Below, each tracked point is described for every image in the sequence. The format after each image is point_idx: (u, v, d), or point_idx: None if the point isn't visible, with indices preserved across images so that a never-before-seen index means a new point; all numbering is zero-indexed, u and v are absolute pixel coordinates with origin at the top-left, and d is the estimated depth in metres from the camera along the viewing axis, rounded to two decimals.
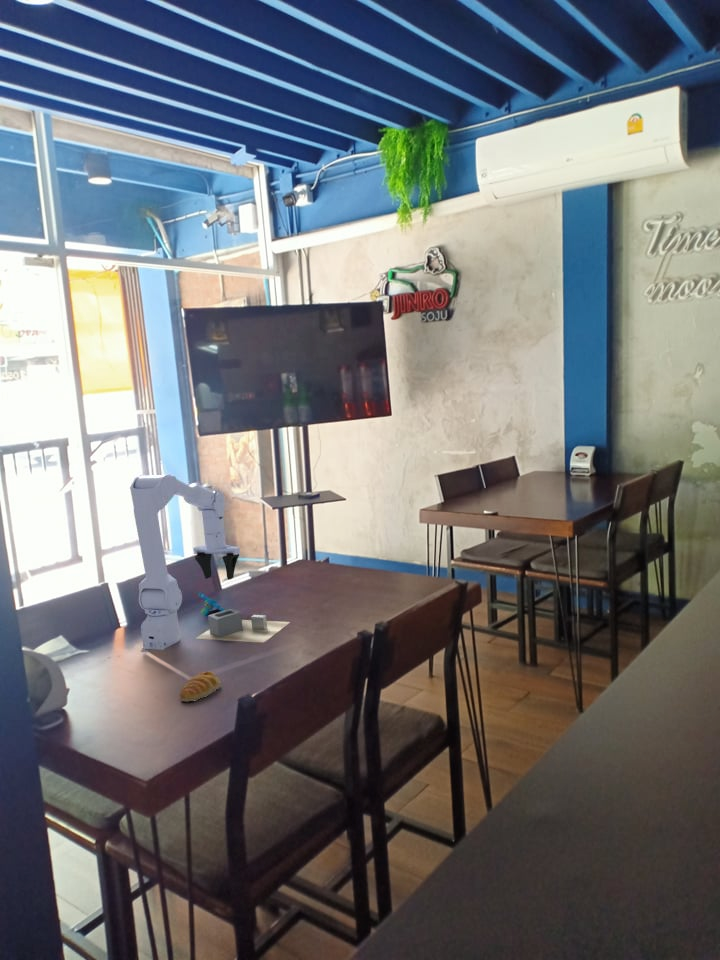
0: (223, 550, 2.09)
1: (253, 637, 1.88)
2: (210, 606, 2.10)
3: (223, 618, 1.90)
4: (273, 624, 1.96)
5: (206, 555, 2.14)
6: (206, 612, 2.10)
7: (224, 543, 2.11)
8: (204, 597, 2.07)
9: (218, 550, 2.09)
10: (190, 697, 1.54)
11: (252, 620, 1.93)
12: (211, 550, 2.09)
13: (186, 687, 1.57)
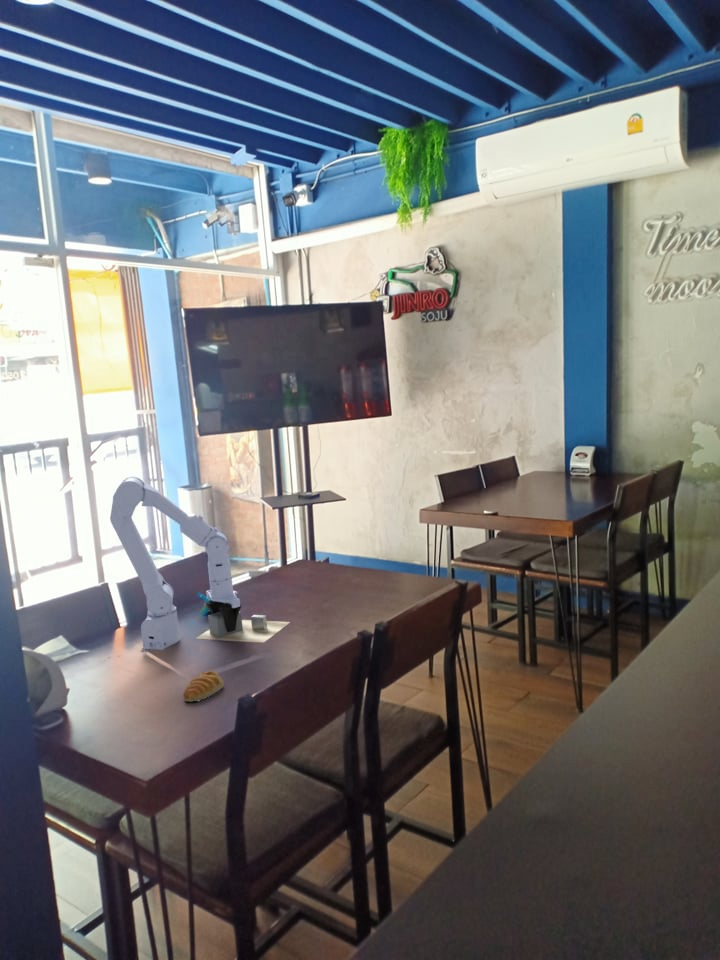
0: (222, 601, 1.88)
1: (253, 637, 1.88)
2: None
3: (223, 618, 1.90)
4: (273, 624, 1.96)
5: (218, 602, 1.95)
6: (205, 612, 2.10)
7: (228, 592, 1.90)
8: (203, 597, 2.07)
9: (218, 600, 1.89)
10: (194, 697, 1.54)
11: (252, 620, 1.93)
12: (213, 598, 1.90)
13: (189, 687, 1.56)
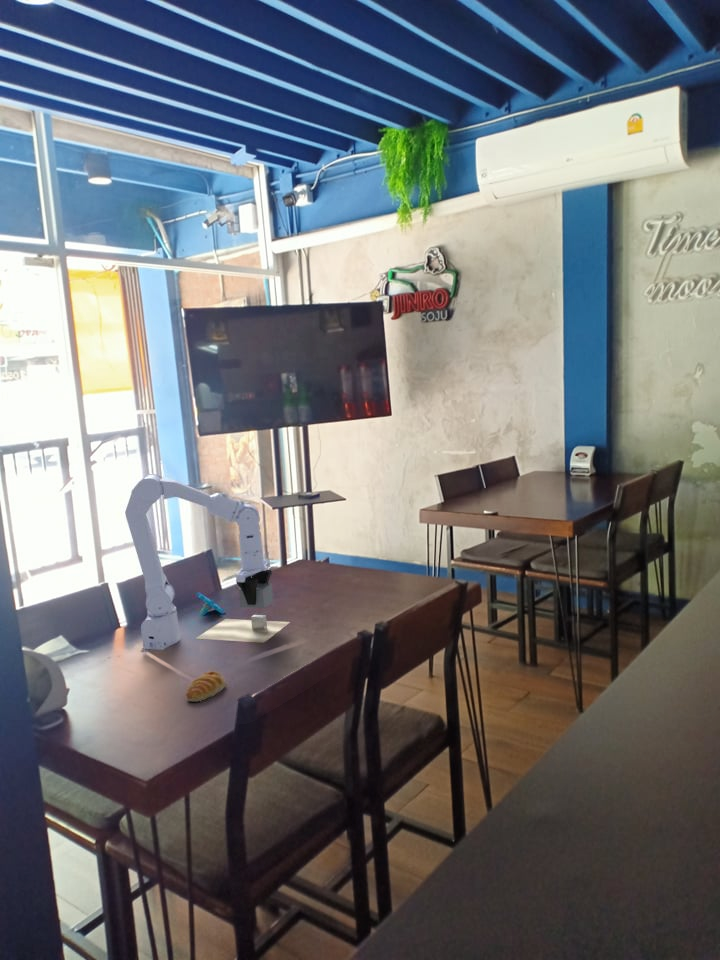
0: None
1: (253, 637, 1.88)
2: (208, 606, 2.10)
3: None
4: (273, 624, 1.96)
5: (259, 573, 1.94)
6: (204, 612, 2.10)
7: (248, 566, 1.89)
8: (202, 597, 2.07)
9: None
10: (197, 697, 1.54)
11: (252, 620, 1.93)
12: None
13: (192, 687, 1.56)
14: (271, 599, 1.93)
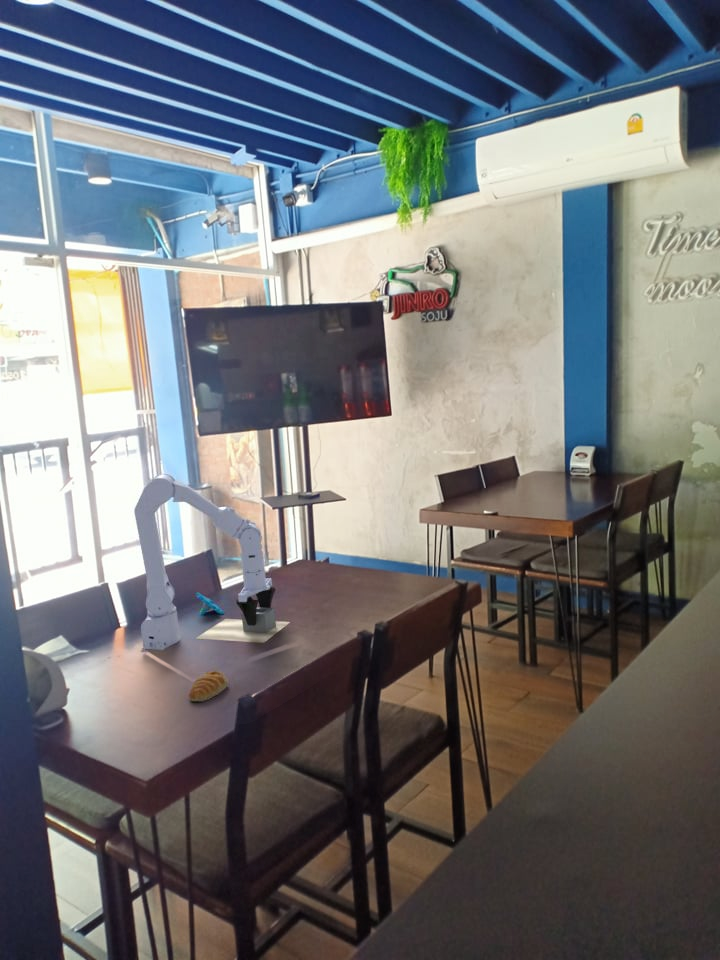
0: None
1: (253, 637, 1.88)
2: (207, 606, 2.10)
3: None
4: None
5: (263, 591, 1.96)
6: (203, 612, 2.10)
7: (250, 585, 1.89)
8: (200, 597, 2.07)
9: None
10: (200, 697, 1.54)
11: None
12: None
13: (195, 687, 1.56)
14: (273, 623, 1.94)
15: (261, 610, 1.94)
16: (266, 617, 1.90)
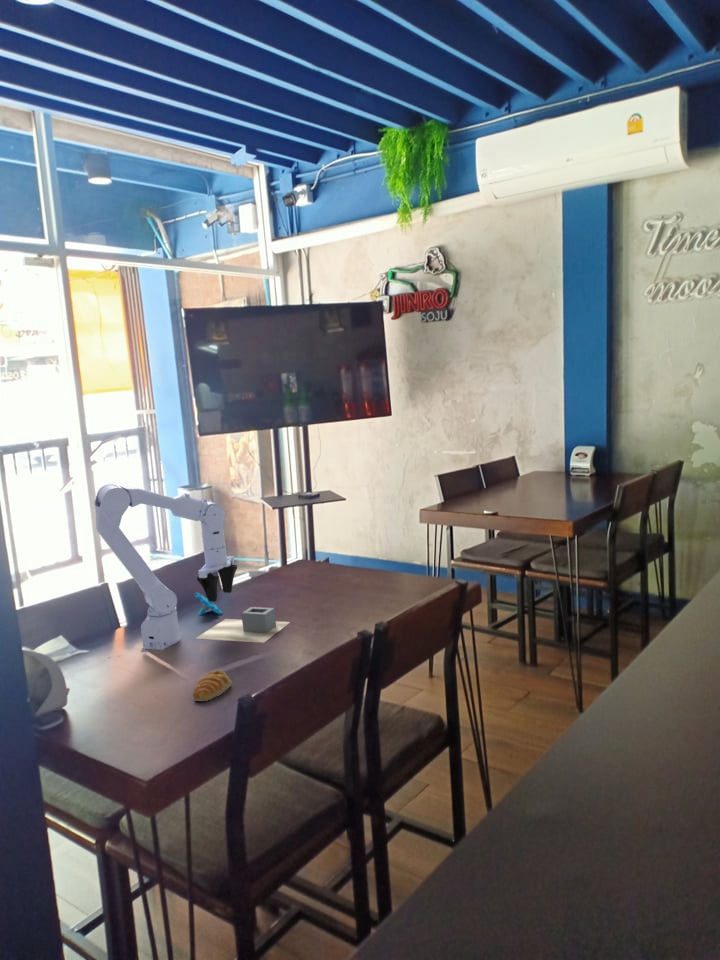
0: None
1: (253, 637, 1.88)
2: (205, 606, 2.10)
3: (247, 614, 1.92)
4: None
5: (225, 568, 1.99)
6: (201, 612, 2.10)
7: (211, 562, 1.93)
8: (199, 597, 2.07)
9: None
10: (204, 696, 1.54)
11: None
12: None
13: (199, 687, 1.56)
14: (273, 623, 1.94)
15: (261, 610, 1.94)
16: (266, 617, 1.90)
